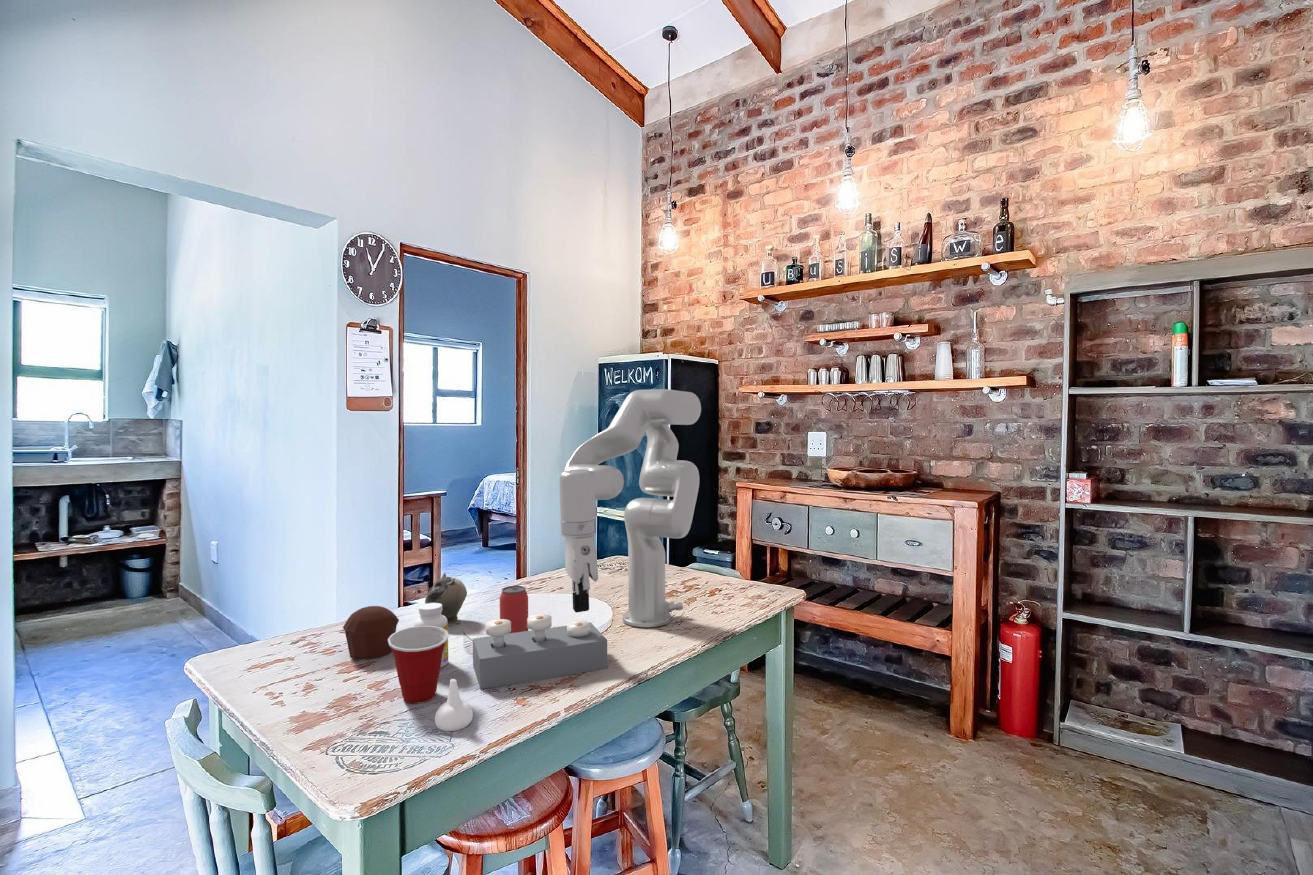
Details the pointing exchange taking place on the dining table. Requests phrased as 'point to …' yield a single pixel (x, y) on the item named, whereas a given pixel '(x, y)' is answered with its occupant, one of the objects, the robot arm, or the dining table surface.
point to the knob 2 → (578, 628)
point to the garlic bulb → (453, 711)
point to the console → (537, 656)
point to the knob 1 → (498, 631)
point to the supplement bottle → (434, 623)
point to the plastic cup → (418, 660)
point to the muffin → (370, 632)
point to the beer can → (514, 607)
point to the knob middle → (539, 625)
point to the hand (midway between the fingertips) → (581, 610)
